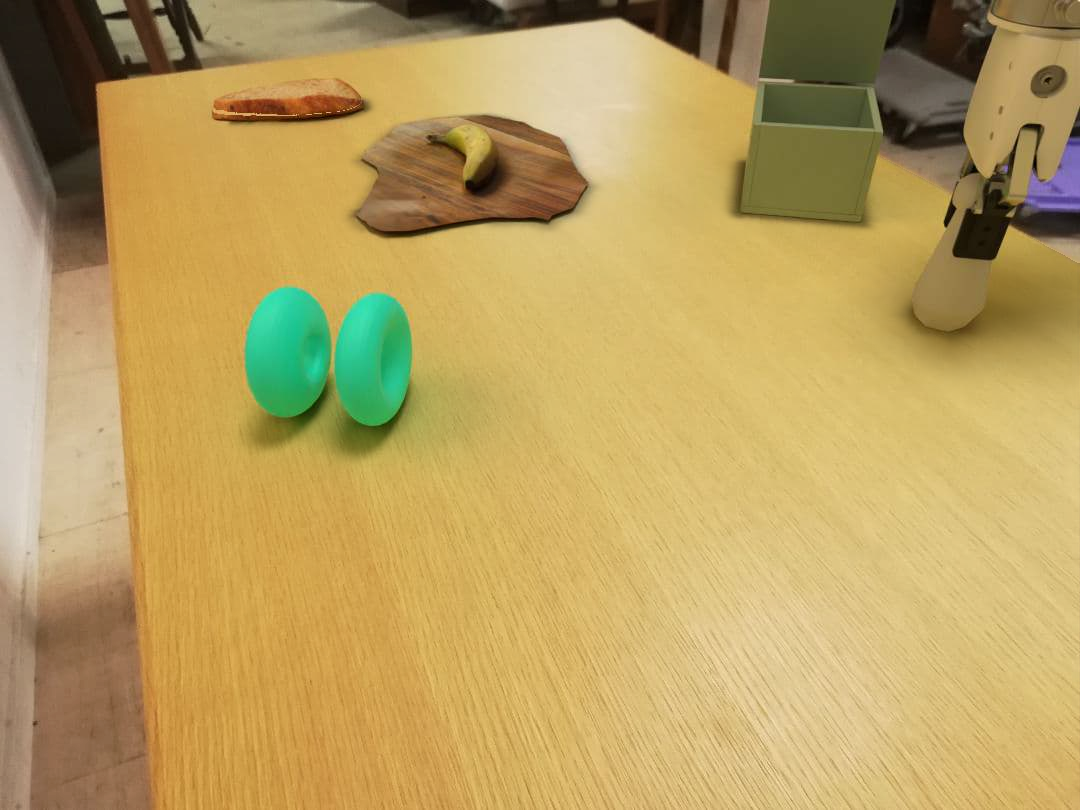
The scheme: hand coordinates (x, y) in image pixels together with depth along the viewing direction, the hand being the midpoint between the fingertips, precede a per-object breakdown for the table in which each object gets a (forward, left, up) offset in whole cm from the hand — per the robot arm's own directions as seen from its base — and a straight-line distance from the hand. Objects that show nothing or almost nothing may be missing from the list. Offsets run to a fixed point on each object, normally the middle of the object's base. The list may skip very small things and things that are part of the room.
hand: (968, 240), depth 65 cm
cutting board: (+41, -40, -8) cm, 58 cm away
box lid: (+1, -32, +10) cm, 34 cm away
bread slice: (+66, -65, -8) cm, 93 cm away
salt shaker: (0, 0, -8) cm, 8 cm away
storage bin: (+3, -27, -8) cm, 28 cm away
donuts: (+52, +5, -8) cm, 53 cm away
